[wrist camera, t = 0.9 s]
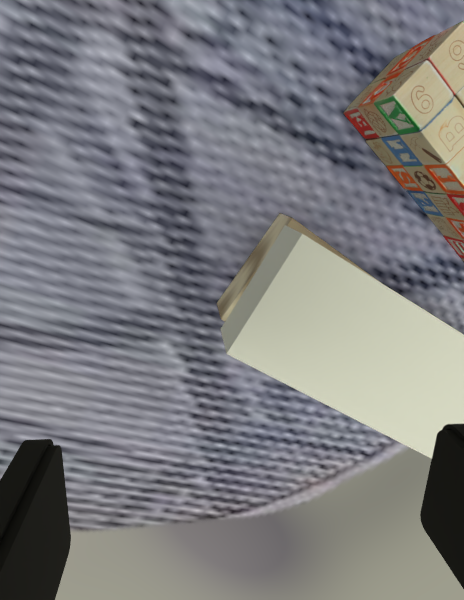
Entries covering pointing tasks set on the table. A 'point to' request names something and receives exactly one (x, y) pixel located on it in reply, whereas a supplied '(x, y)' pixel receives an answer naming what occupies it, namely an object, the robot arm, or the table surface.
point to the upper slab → (349, 342)
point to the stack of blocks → (422, 127)
